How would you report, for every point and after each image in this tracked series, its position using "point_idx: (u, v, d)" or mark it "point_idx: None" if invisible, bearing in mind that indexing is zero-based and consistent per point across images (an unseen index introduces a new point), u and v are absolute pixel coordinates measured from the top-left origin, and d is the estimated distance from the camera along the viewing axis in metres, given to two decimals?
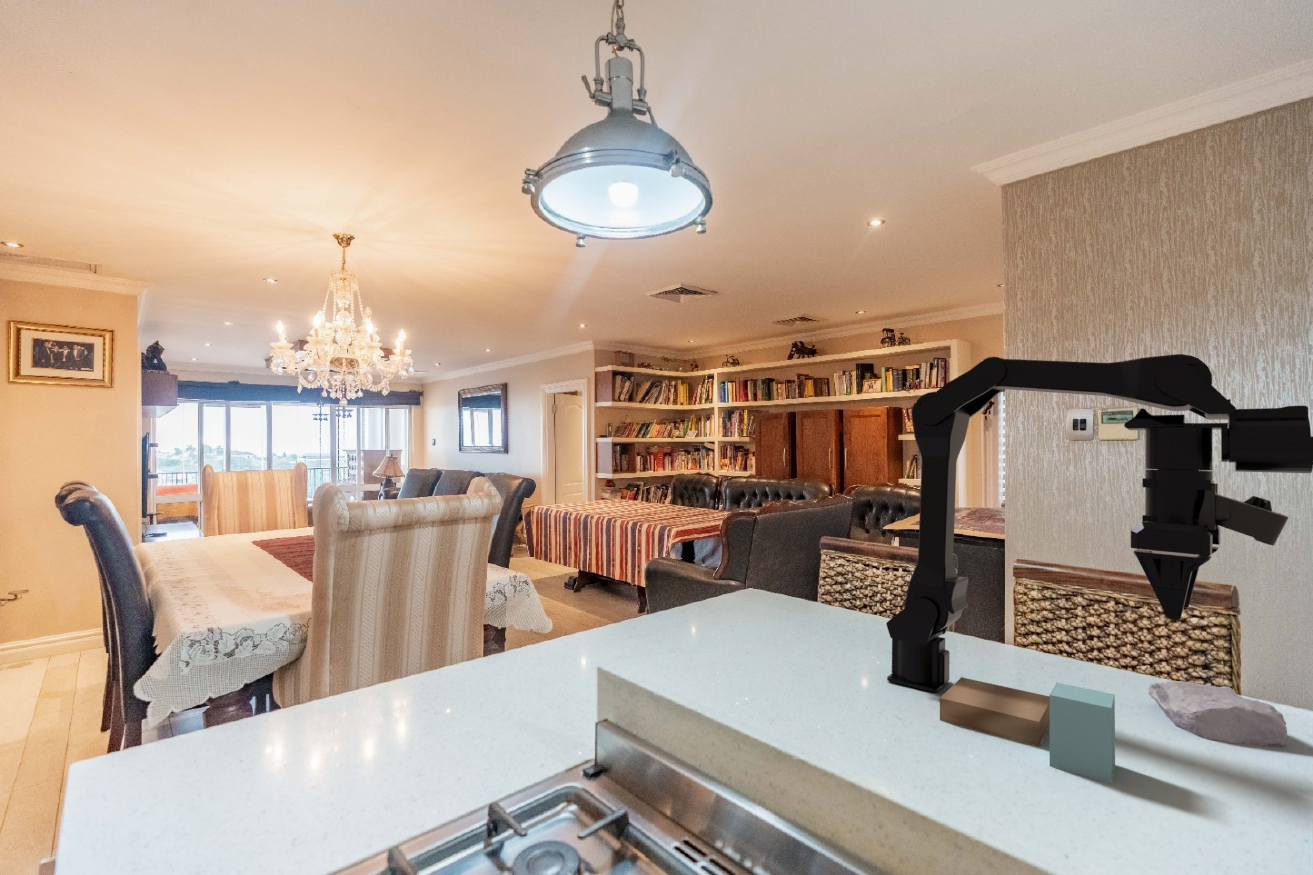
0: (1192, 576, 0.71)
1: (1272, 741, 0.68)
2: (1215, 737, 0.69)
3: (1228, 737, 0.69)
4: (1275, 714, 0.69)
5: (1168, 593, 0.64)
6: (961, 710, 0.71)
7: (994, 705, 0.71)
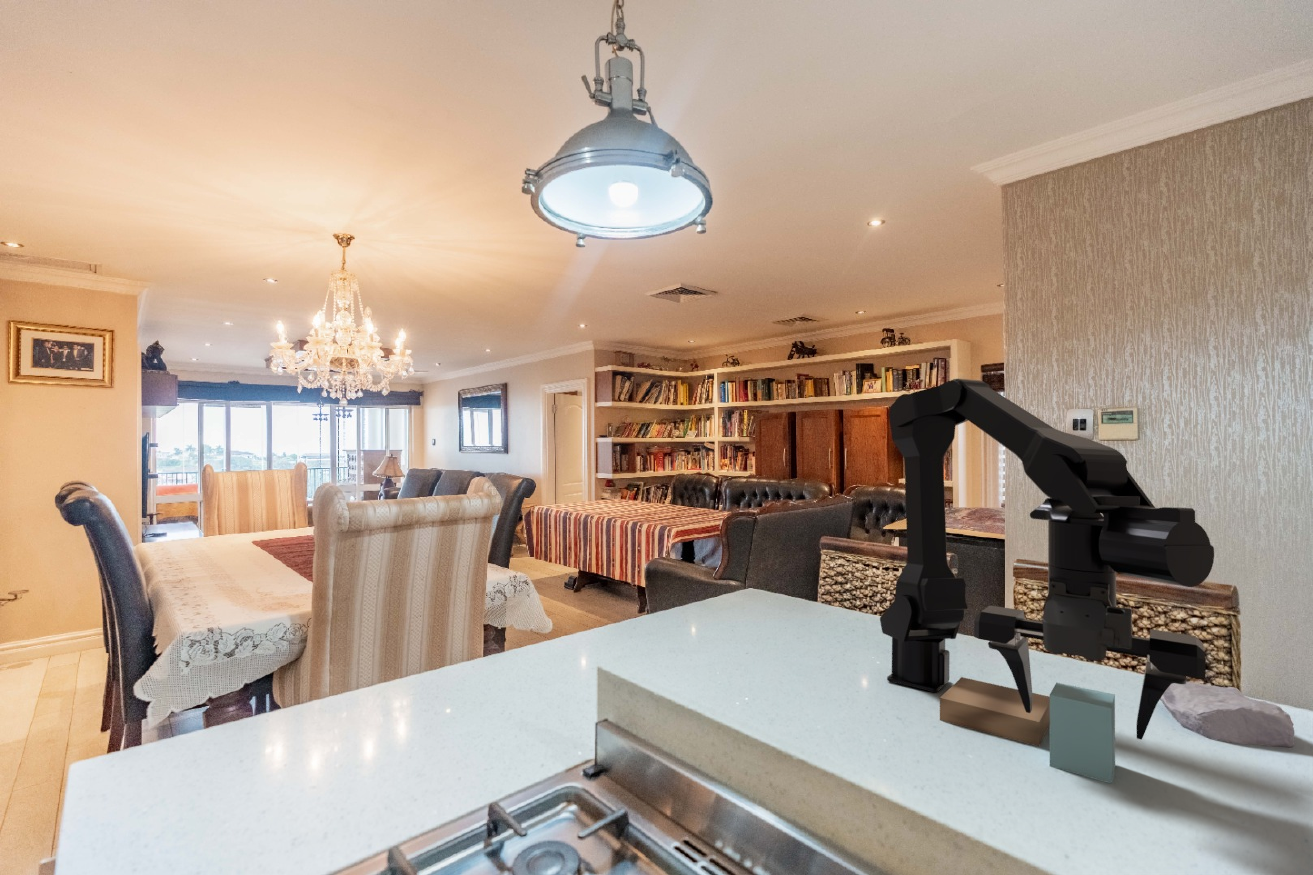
0: (1140, 702, 0.59)
1: (1279, 742, 0.68)
2: (1222, 738, 0.69)
3: (1235, 738, 0.69)
4: (1283, 715, 0.68)
5: None
6: (961, 710, 0.71)
7: (995, 705, 0.71)
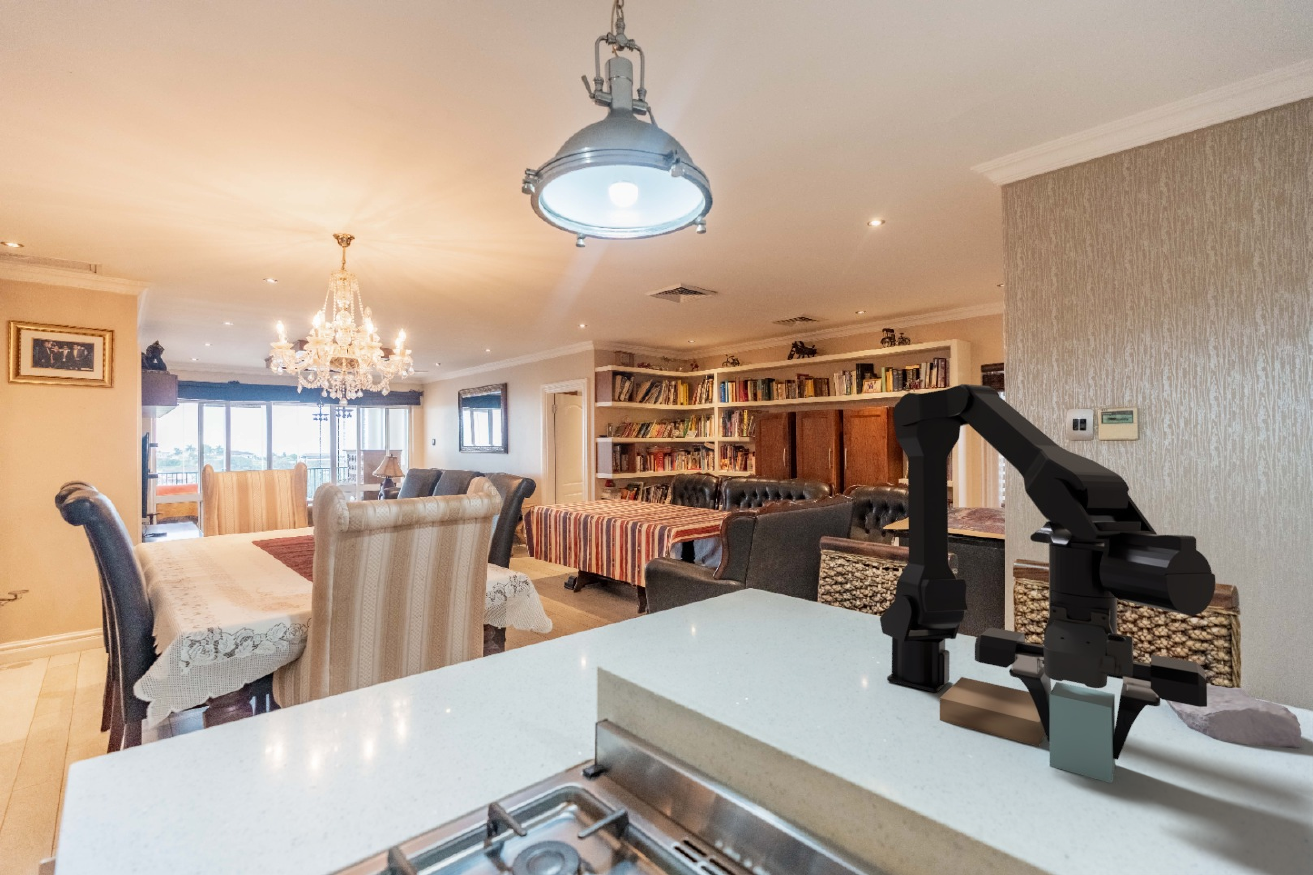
0: None
1: (1286, 743, 0.68)
2: (1229, 739, 0.69)
3: (1242, 739, 0.69)
4: (1289, 715, 0.68)
5: None
6: (961, 710, 0.71)
7: (994, 705, 0.71)
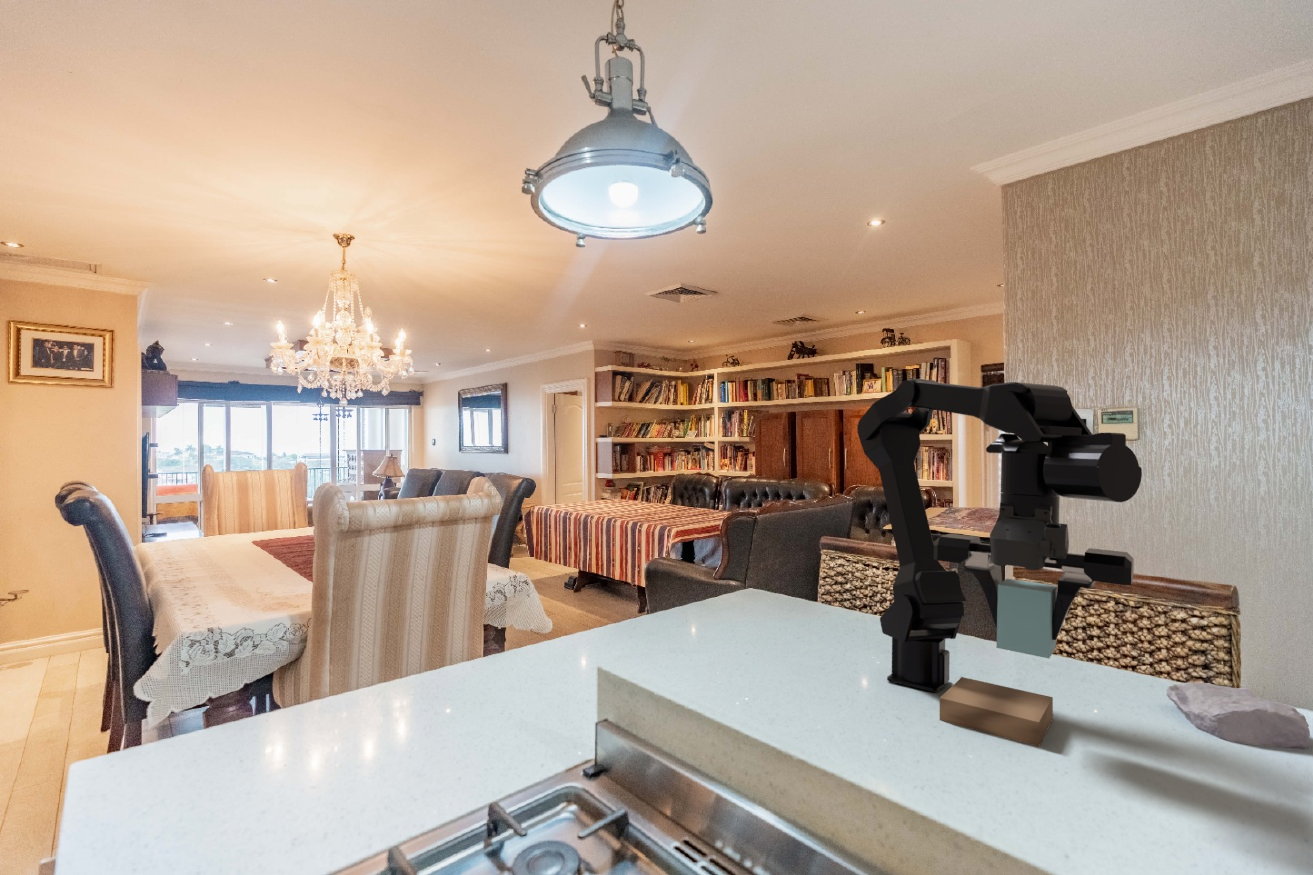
0: None
1: (1295, 743, 0.68)
2: (1238, 740, 0.69)
3: (1251, 740, 0.69)
4: (1298, 716, 0.68)
5: None
6: (961, 710, 0.71)
7: (994, 705, 0.71)
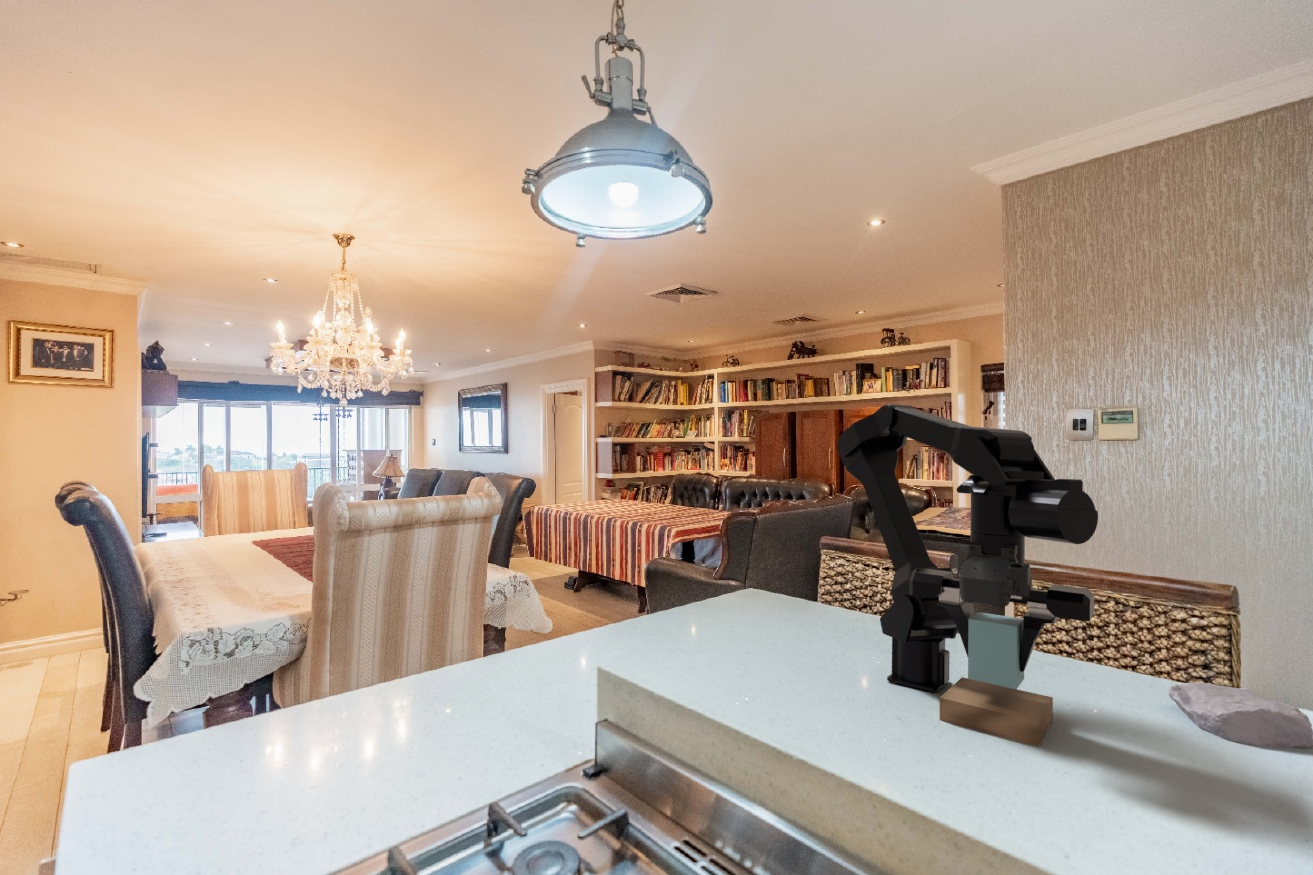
0: (1021, 641, 0.71)
1: (1298, 743, 0.68)
2: (1242, 740, 0.69)
3: (1255, 740, 0.69)
4: (1301, 716, 0.68)
5: None
6: (961, 710, 0.71)
7: (994, 705, 0.71)
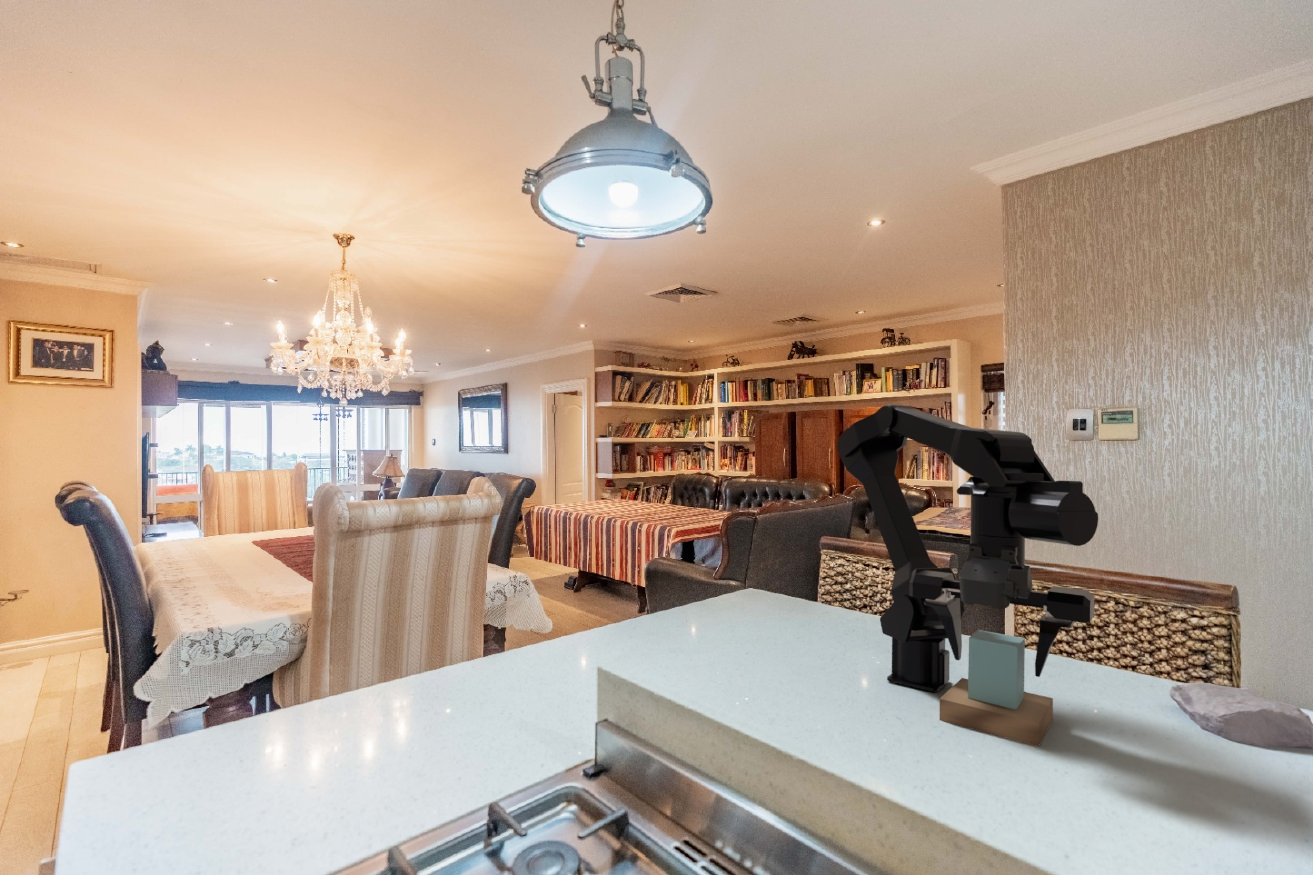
0: None
1: (1300, 743, 0.68)
2: (1244, 740, 0.69)
3: (1257, 740, 0.68)
4: (1303, 716, 0.68)
5: None
6: (961, 711, 0.71)
7: (994, 706, 0.71)
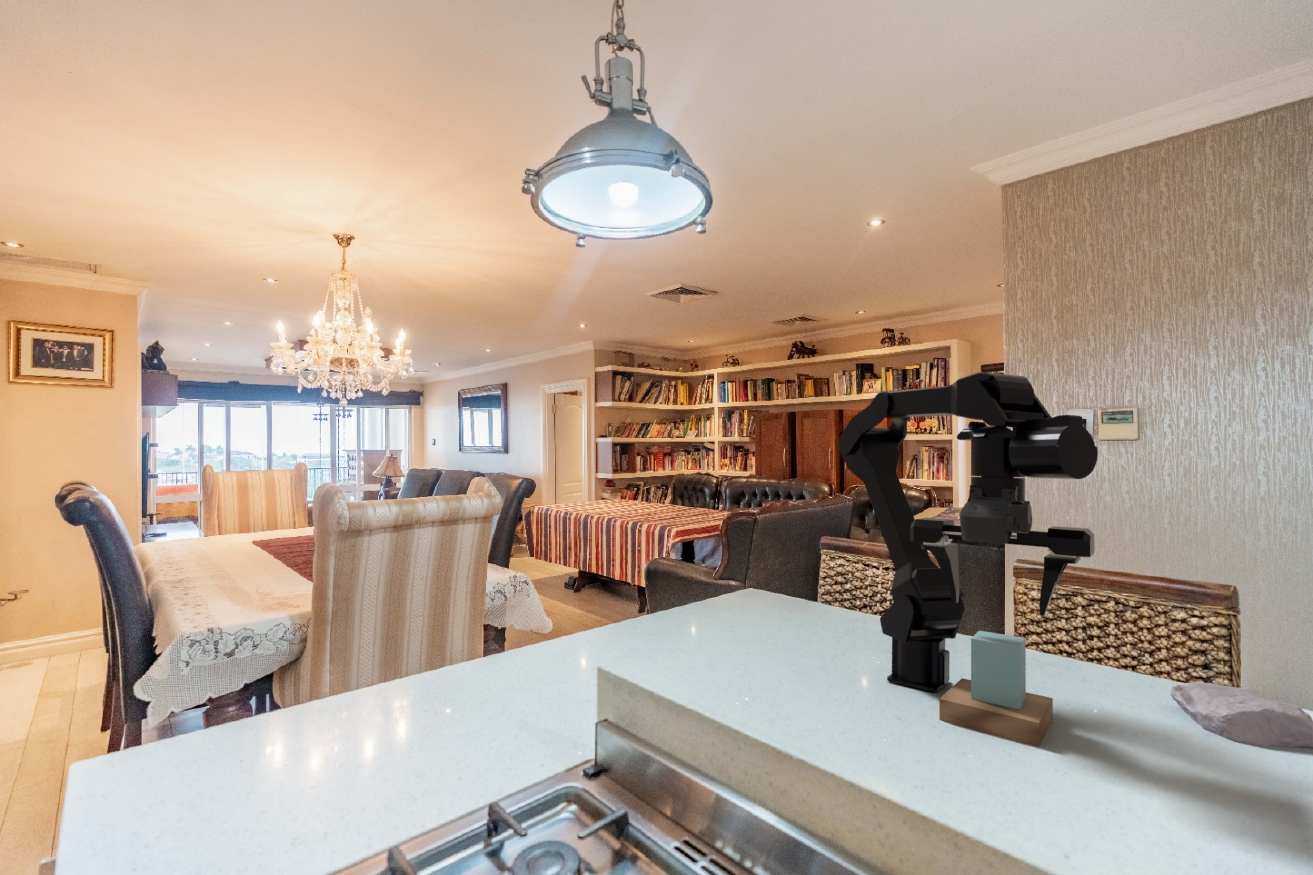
0: (1042, 584, 0.70)
1: (1302, 743, 0.68)
2: (1246, 740, 0.69)
3: (1259, 740, 0.68)
4: (1305, 716, 0.68)
5: None
6: (960, 711, 0.71)
7: (994, 706, 0.71)
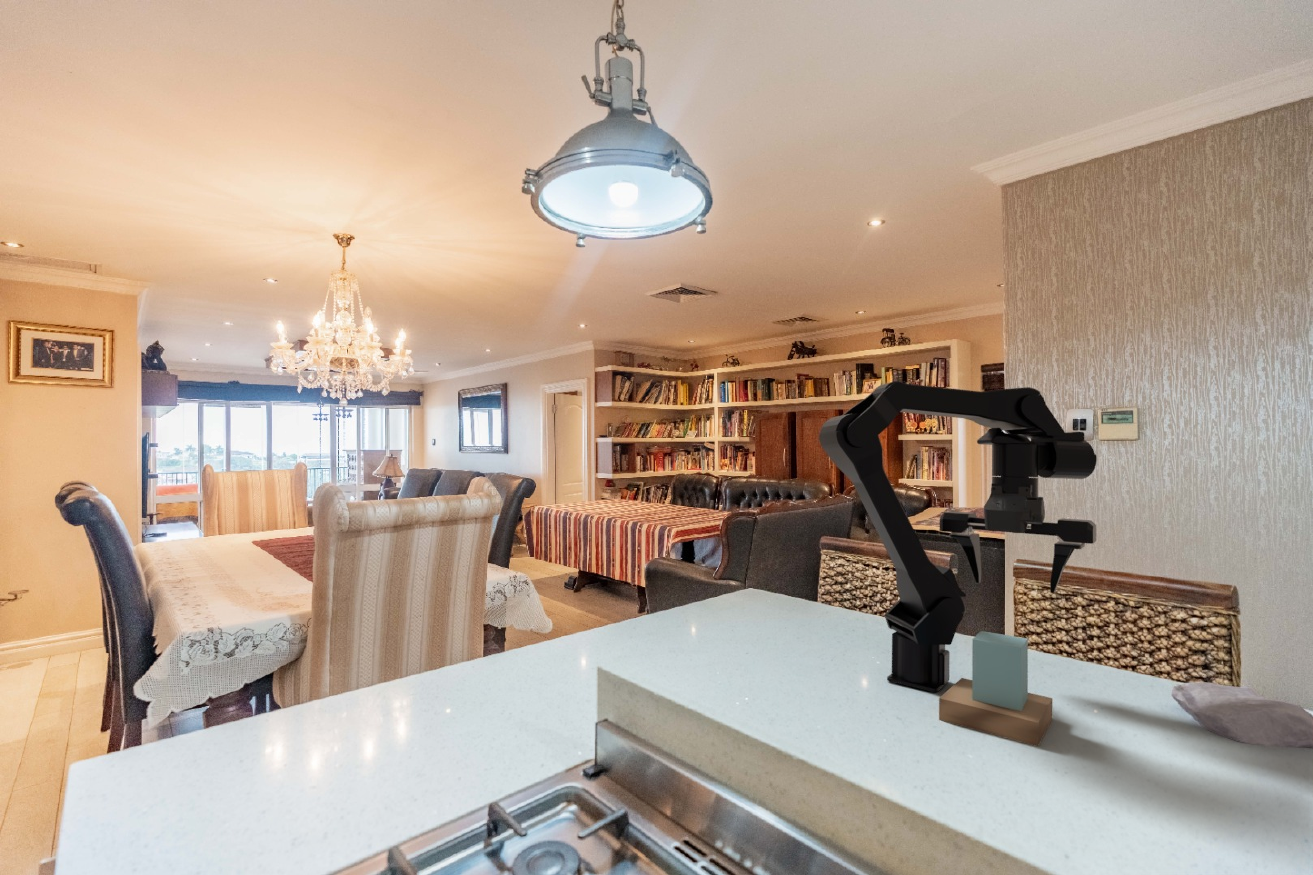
0: (1052, 567, 0.84)
1: (1305, 742, 0.68)
2: (1250, 740, 0.69)
3: (1263, 740, 0.68)
4: (1307, 715, 0.68)
5: None
6: (960, 711, 0.71)
7: (994, 705, 0.71)
